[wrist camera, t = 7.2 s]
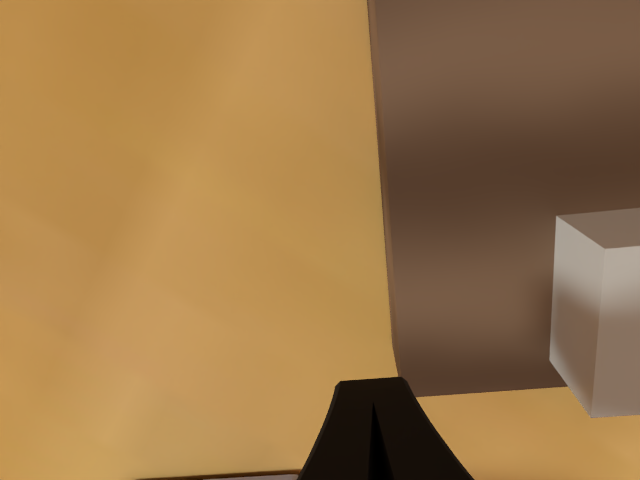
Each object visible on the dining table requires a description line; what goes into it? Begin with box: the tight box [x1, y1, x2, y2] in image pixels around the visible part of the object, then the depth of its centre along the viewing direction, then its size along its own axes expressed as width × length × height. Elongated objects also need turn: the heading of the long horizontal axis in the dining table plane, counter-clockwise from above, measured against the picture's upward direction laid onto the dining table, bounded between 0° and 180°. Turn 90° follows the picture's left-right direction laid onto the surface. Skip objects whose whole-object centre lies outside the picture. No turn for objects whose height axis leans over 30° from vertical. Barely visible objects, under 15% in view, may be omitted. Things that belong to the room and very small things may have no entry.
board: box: [367, 0, 640, 397], centre depth 14 cm, size 13×12×3 cm
